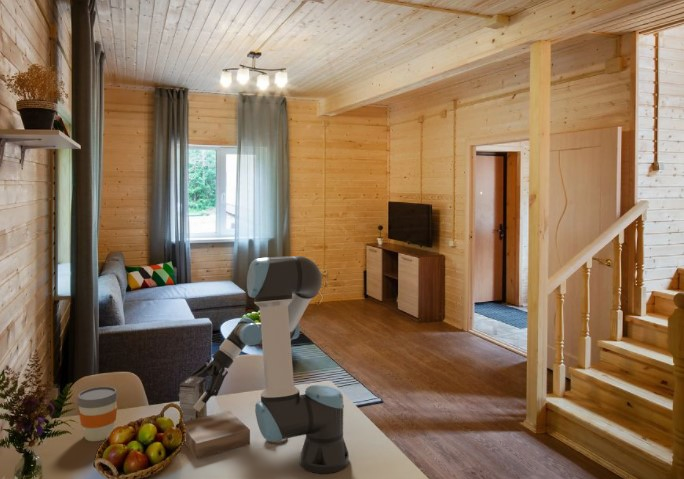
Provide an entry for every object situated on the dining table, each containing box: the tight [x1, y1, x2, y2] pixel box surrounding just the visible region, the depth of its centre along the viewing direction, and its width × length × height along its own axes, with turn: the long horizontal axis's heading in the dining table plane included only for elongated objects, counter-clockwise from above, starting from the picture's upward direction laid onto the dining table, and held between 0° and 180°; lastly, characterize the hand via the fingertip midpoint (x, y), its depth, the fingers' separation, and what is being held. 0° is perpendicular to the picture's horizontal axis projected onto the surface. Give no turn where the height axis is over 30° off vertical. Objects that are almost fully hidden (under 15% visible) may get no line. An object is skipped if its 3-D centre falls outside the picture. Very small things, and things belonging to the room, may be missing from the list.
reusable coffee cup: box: [76, 386, 118, 442], centre depth 184 cm, size 13×13×15 cm
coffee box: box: [178, 375, 208, 421], centre depth 193 cm, size 9×6×16 cm
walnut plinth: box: [183, 410, 251, 460], centre depth 181 cm, size 18×18×5 cm
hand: (188, 403), depth 192 cm, fingers open, 13 cm apart
